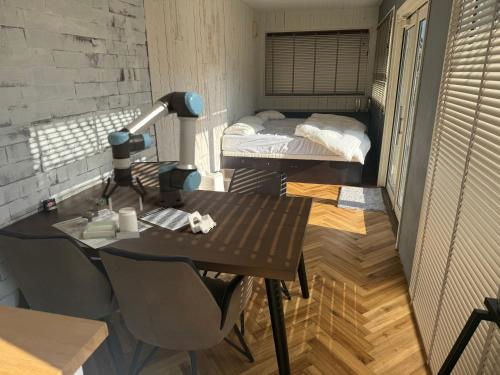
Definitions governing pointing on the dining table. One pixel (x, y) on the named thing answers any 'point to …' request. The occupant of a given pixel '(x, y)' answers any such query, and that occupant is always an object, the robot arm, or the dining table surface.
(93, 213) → the idler pulley
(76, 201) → the dining table surface
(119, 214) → the white jar
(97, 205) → the mechanical component
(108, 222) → the parts tray
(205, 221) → the mounting bracket
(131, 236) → the tensioner cradle
